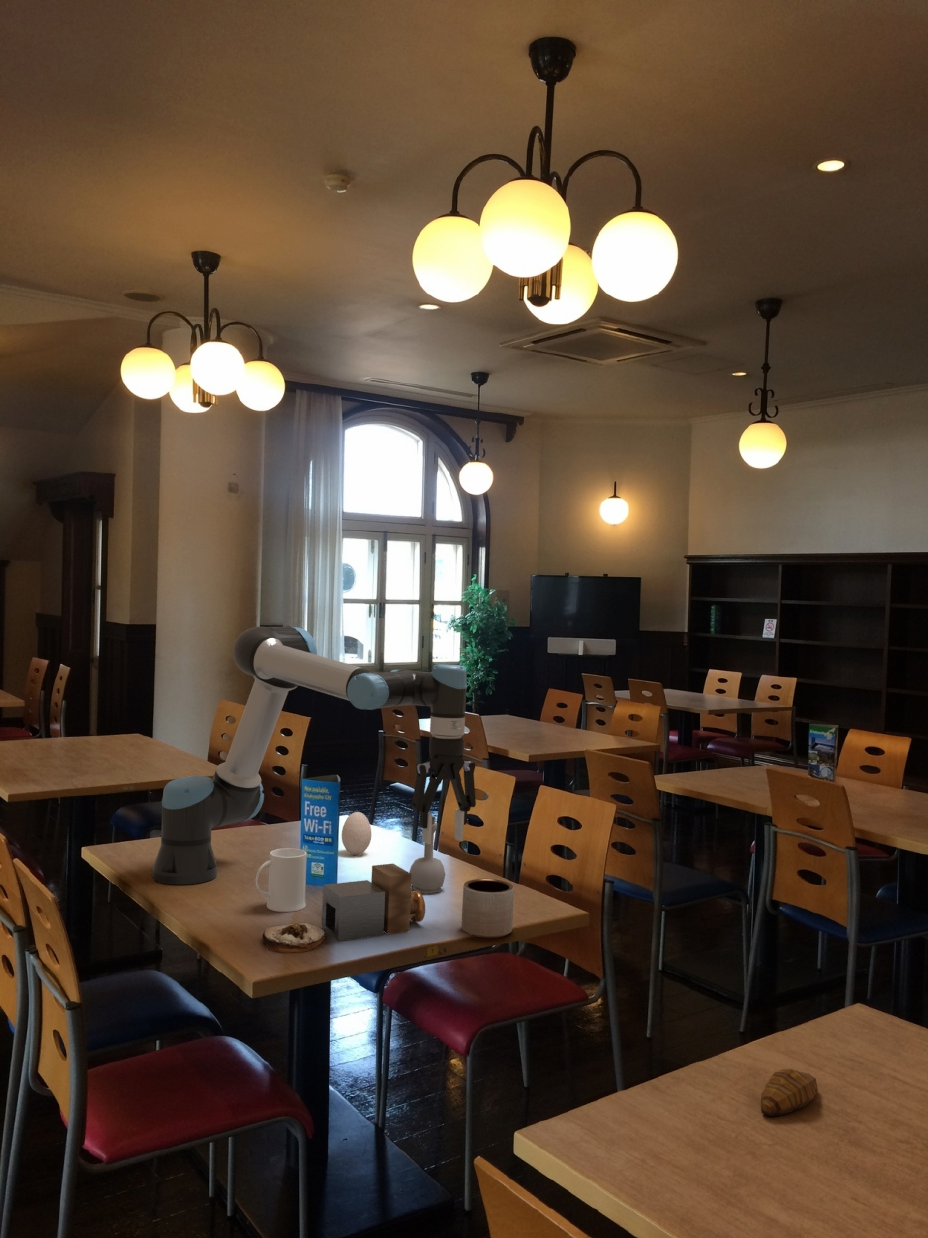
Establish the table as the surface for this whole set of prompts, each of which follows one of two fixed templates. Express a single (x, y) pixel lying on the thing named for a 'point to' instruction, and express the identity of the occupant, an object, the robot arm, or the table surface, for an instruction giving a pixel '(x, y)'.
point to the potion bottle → (428, 869)
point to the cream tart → (294, 937)
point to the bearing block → (353, 910)
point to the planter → (487, 908)
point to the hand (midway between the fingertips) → (442, 841)
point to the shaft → (417, 907)
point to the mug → (285, 880)
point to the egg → (356, 833)
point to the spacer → (394, 896)
